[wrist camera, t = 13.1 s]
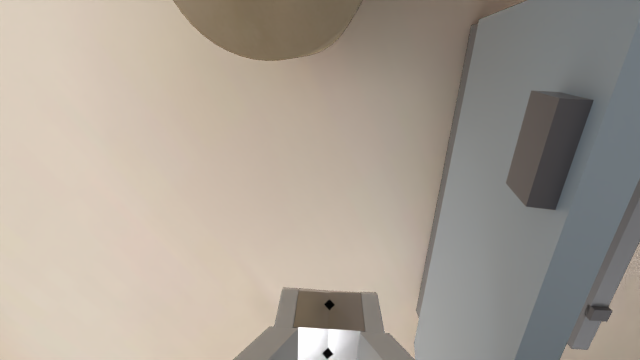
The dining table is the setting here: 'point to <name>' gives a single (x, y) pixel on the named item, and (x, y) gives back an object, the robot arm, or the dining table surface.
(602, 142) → the cover
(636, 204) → the grey rail
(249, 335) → the dining table surface
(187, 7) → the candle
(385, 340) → the robot arm
